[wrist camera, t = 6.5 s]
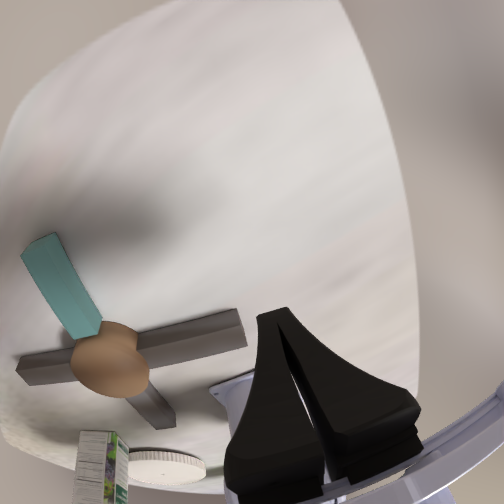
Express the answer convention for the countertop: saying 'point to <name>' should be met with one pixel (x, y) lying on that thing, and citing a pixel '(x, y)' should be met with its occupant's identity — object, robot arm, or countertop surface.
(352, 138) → the countertop surface
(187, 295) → the countertop surface
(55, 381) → the grey brown t-shaped piece
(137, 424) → the countertop surface
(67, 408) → the countertop surface
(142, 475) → the plastic lid
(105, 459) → the syrup box
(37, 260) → the teal rectangular block
